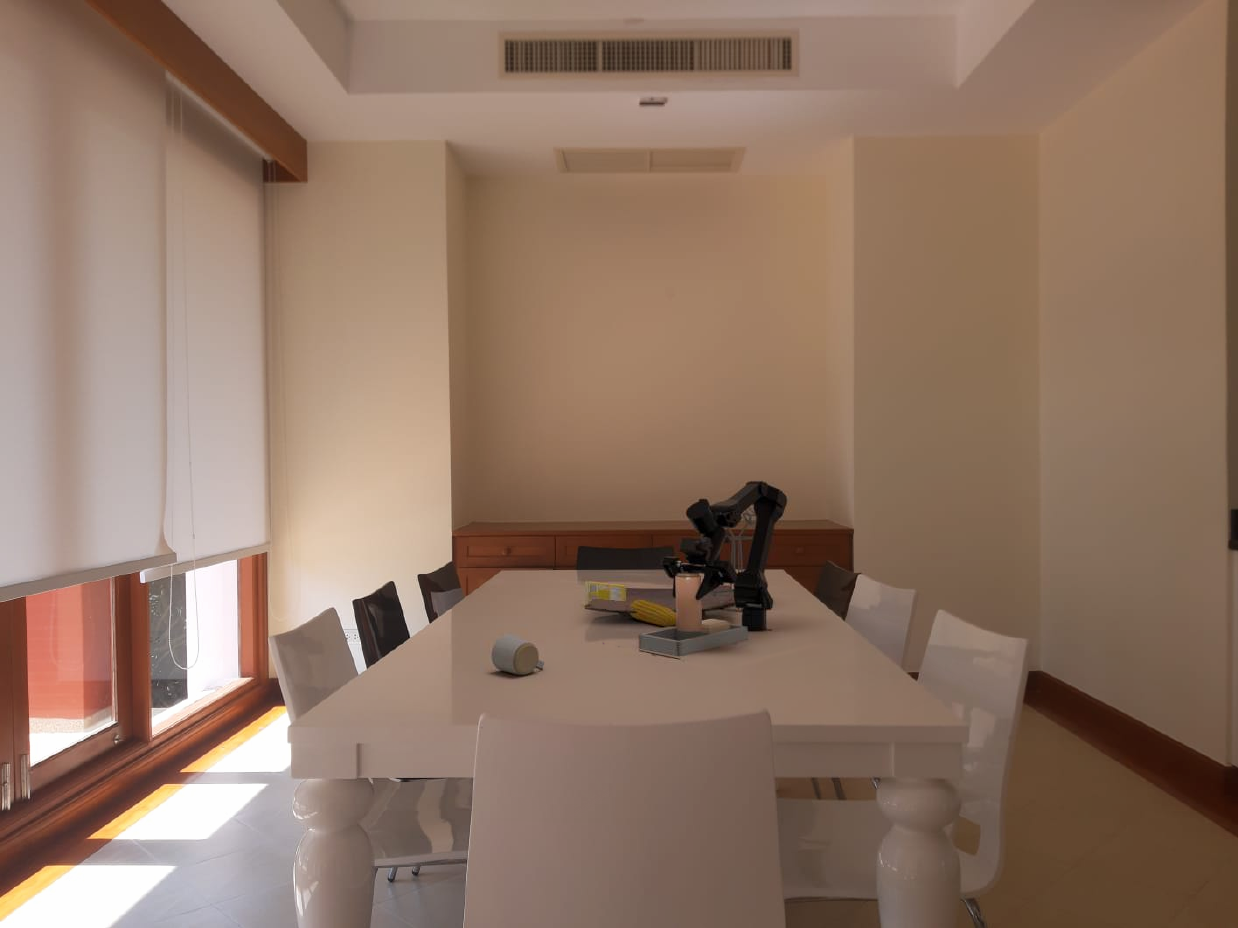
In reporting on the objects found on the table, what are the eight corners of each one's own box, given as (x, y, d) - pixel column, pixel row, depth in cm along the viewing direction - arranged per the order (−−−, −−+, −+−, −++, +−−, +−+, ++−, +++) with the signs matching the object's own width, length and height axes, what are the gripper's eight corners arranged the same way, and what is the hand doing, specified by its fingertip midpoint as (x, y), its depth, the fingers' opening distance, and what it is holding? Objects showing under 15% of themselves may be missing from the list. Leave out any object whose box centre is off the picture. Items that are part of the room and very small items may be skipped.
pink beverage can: (695, 625, 206) (694, 571, 206) (706, 630, 200) (705, 574, 200) (672, 627, 204) (671, 572, 204) (682, 632, 198) (681, 575, 198)
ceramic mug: (514, 679, 180) (515, 642, 180) (490, 672, 186) (490, 637, 186) (552, 670, 188) (552, 635, 188) (528, 665, 193) (528, 630, 193)
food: (626, 619, 248) (626, 599, 248) (642, 617, 251) (642, 597, 251) (670, 630, 231) (669, 608, 231) (686, 628, 234) (686, 606, 234)
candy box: (626, 612, 260) (626, 585, 260) (622, 613, 259) (621, 585, 259) (589, 606, 271) (588, 580, 271) (584, 607, 270) (584, 581, 270)
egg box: (711, 635, 218) (711, 618, 218) (730, 639, 214) (730, 621, 214) (690, 640, 213) (690, 622, 213) (709, 644, 208) (708, 625, 208)
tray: (707, 635, 222) (707, 620, 222) (747, 642, 213) (747, 626, 213) (638, 651, 205) (638, 634, 205) (679, 659, 196) (678, 641, 196)
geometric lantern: (701, 608, 265) (700, 494, 266) (734, 603, 276) (733, 494, 277) (741, 614, 253) (740, 495, 254) (774, 608, 264) (773, 494, 265)
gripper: (663, 523, 211) (638, 574, 202) (730, 526, 199) (705, 579, 191) (682, 552, 217) (658, 602, 209) (747, 556, 206) (724, 609, 197)
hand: (685, 598), depth 201 cm, fingers closed on pink beverage can, 6 cm apart
